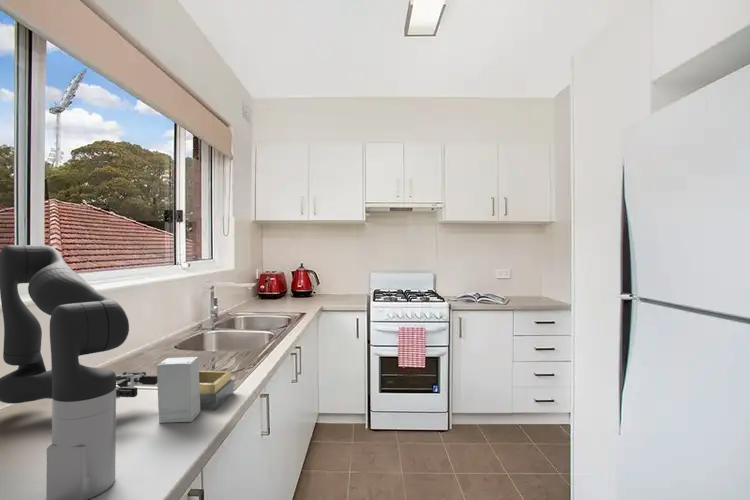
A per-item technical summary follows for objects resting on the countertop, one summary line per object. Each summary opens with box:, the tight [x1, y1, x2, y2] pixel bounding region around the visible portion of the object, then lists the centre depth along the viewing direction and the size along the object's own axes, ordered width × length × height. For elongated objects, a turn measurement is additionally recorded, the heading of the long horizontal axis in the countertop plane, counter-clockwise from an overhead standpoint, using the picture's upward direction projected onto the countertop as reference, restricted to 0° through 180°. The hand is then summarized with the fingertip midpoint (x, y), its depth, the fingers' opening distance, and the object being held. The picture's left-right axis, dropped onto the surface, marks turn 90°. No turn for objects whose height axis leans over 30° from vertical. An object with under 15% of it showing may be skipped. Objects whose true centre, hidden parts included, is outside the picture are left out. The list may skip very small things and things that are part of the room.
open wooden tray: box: [199, 370, 234, 411], centre depth 111 cm, size 15×14×6 cm
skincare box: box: [156, 356, 201, 424], centre depth 98 cm, size 8×6×15 cm
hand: (147, 385), depth 98 cm, fingers open, 8 cm apart
